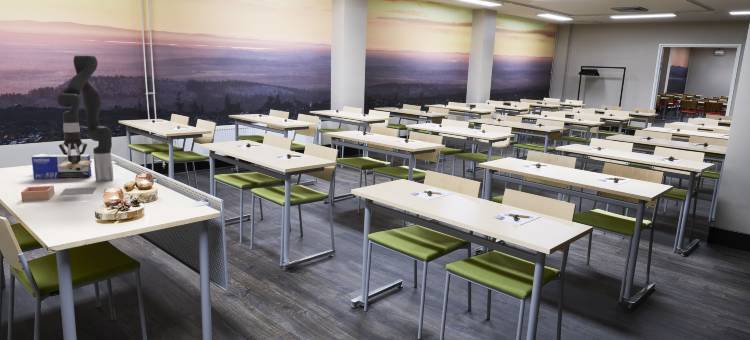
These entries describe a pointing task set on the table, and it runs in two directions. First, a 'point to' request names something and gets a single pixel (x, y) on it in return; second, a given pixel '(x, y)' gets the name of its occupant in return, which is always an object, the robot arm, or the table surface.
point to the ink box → (48, 168)
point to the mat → (78, 191)
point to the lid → (74, 163)
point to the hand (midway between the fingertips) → (74, 161)
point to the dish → (37, 193)
